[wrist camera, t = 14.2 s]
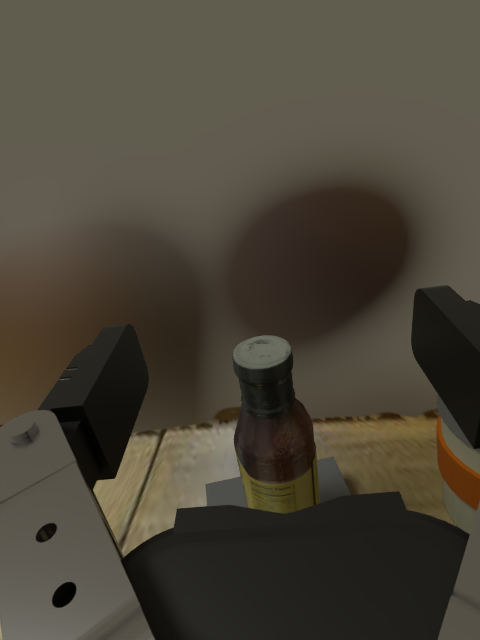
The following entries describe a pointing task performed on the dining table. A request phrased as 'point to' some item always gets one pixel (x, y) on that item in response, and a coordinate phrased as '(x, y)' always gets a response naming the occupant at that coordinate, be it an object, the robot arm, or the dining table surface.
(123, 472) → the dining table surface
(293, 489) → the sauce bottle
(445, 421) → the reusable coffee cup
